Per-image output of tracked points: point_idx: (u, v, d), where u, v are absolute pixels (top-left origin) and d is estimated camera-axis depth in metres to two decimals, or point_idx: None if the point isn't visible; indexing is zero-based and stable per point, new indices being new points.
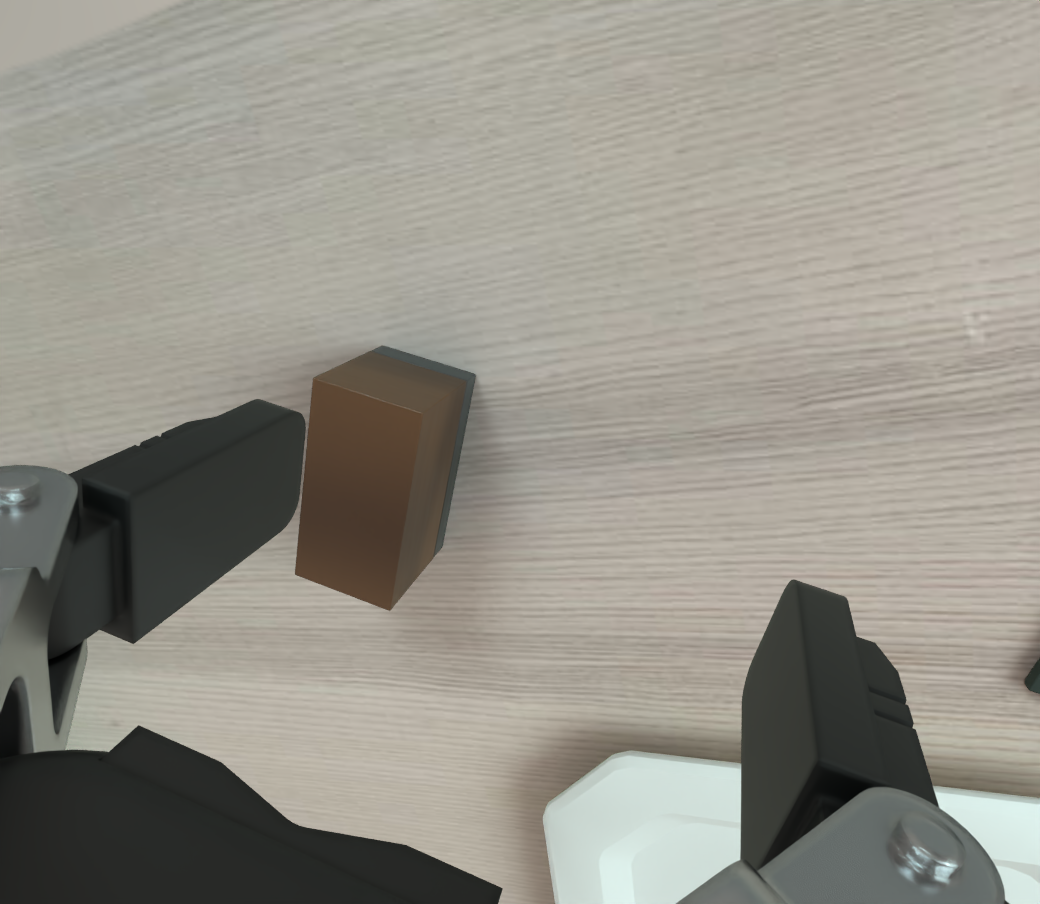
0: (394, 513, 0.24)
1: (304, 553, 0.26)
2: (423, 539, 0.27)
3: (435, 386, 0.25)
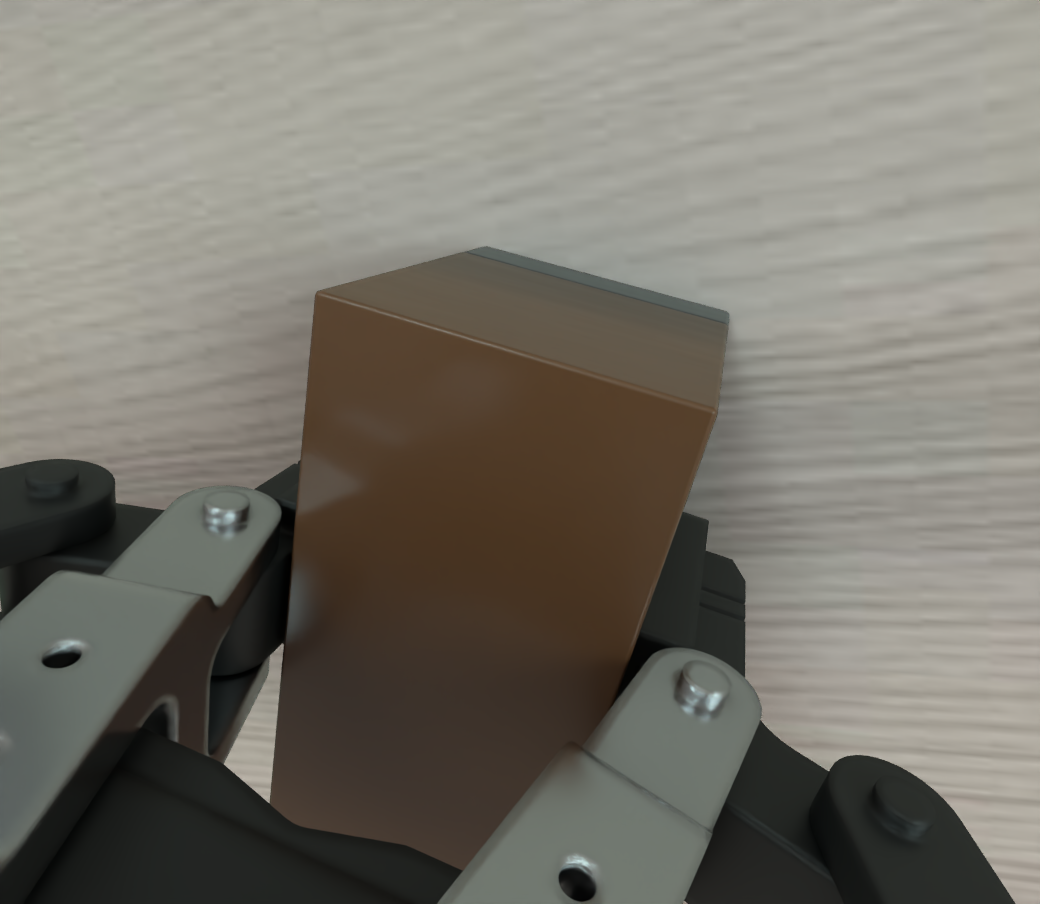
0: (566, 721, 0.08)
1: (291, 790, 0.10)
2: None
3: (673, 333, 0.08)
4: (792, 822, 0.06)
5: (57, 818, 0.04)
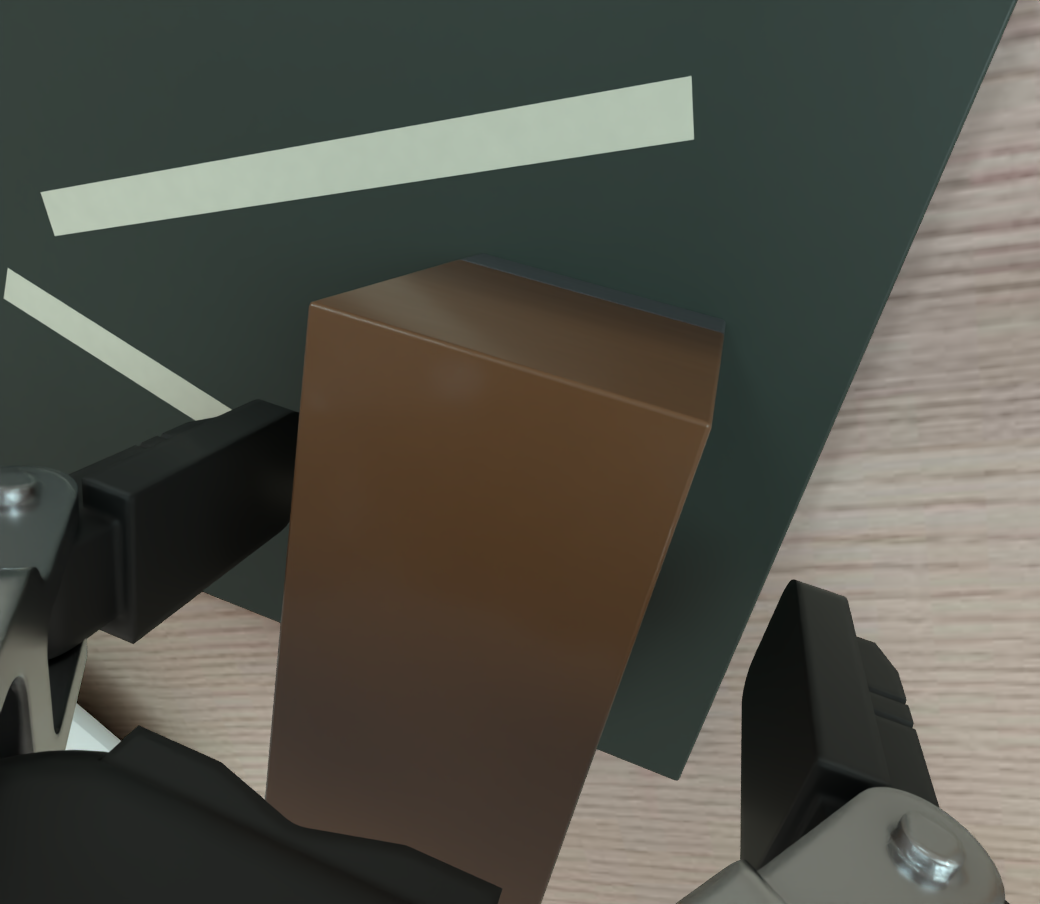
0: (560, 732, 0.08)
1: (285, 799, 0.10)
2: None
3: (669, 342, 0.08)
4: None
5: None
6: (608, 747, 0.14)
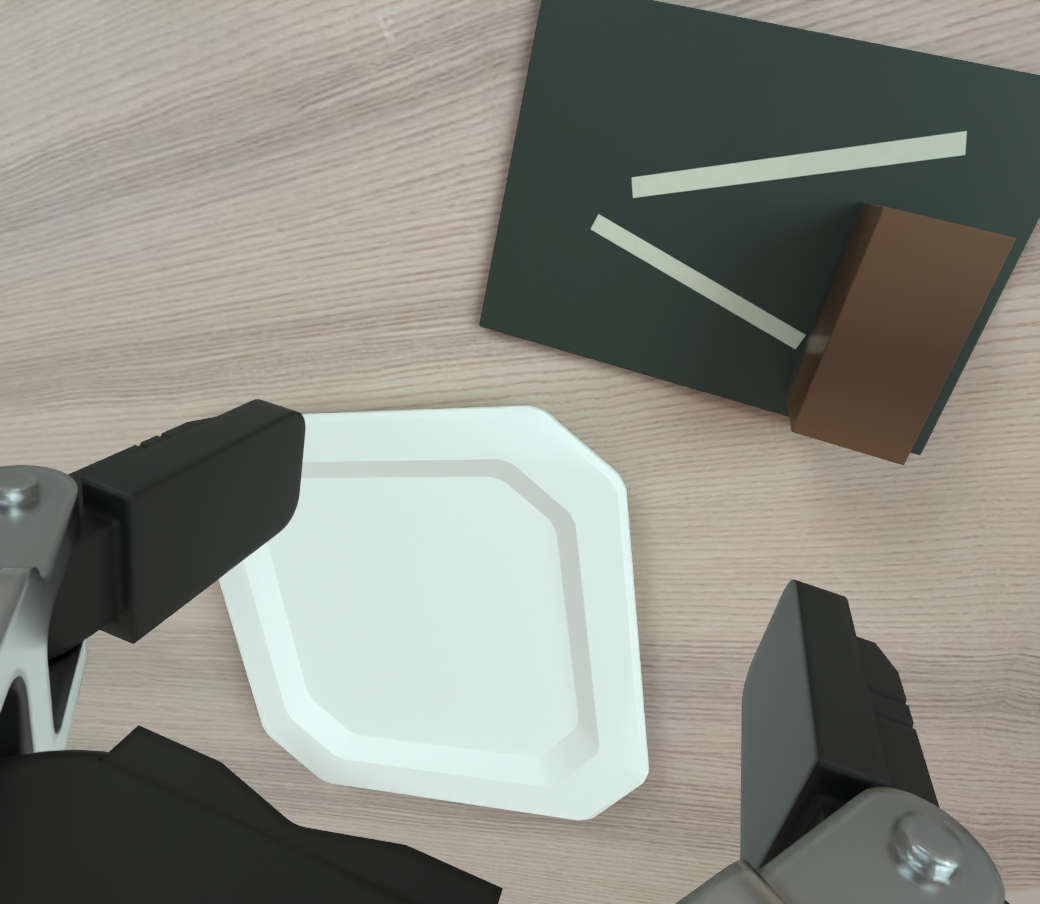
0: (944, 354, 0.23)
1: (811, 406, 0.25)
2: None
3: None
4: None
5: None
6: None
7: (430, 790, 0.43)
